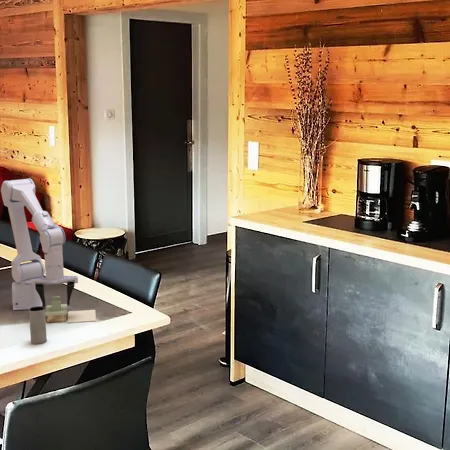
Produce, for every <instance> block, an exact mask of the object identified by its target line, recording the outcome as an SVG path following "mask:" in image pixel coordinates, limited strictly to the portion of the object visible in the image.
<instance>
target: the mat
mask: <svg viewBox="0 0 450 450" xmlns="http://www.w3.org/2000/svg"><path fill="white" fill-rule="evenodd" d="M67 311H68V310H67ZM96 321H97V316H96V309H86V310H85V309H84V310H71V311H68V312H67V320H66V323H67V324H75V323H76V324H77V323H91V322H96Z"/></svg>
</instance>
